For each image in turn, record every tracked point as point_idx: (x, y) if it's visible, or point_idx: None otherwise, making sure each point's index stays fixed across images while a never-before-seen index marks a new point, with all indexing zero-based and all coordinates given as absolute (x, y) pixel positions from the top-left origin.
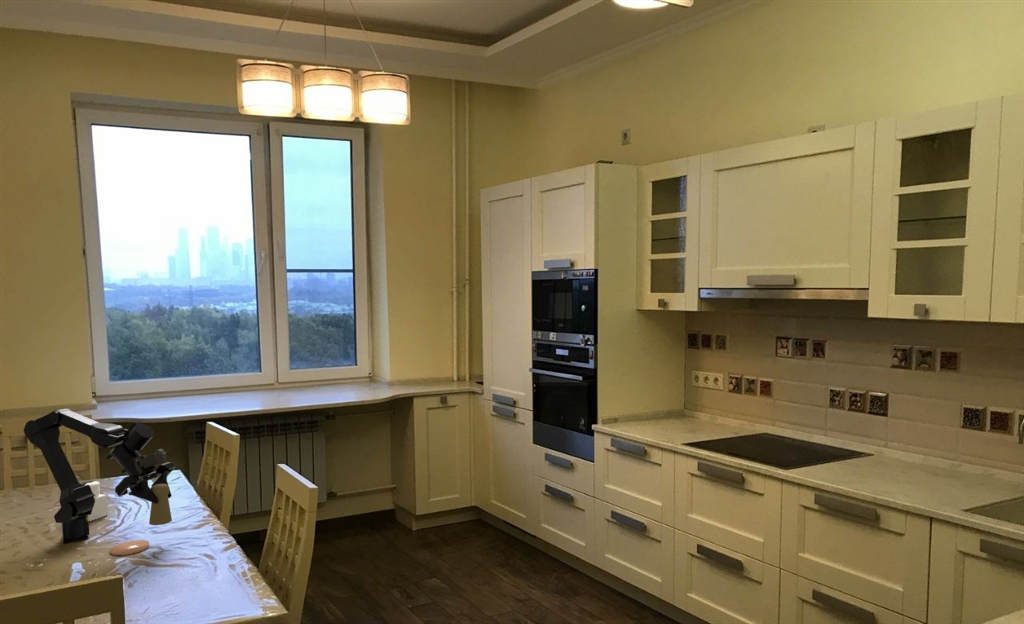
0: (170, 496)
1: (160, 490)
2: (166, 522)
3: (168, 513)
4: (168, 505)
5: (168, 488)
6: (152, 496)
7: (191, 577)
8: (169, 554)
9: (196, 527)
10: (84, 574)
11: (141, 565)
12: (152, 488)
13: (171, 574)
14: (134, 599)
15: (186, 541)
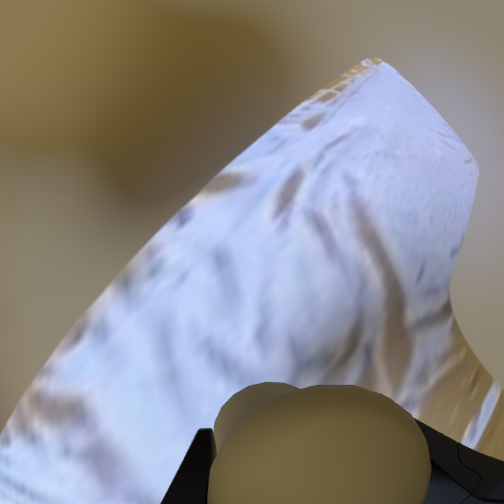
0: (212, 430)
1: (395, 404)
2: (283, 383)
3: (269, 388)
4: (263, 398)
5: (287, 398)
6: (424, 427)
7: (387, 160)
8: (323, 313)
9: (77, 415)
10: (479, 402)
11: (408, 321)
12: (426, 490)
13: (402, 204)
14: (473, 196)
15: (204, 353)
